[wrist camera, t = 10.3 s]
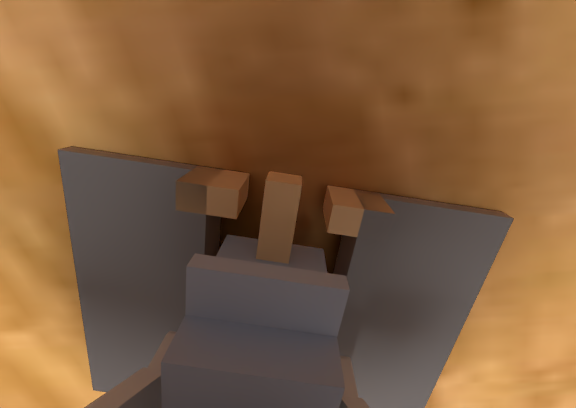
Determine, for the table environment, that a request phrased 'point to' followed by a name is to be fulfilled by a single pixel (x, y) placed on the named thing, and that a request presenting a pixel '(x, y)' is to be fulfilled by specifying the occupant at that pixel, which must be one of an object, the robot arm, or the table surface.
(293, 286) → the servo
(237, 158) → the table surface
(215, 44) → the table surface
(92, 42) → the table surface
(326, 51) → the table surface
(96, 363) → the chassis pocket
